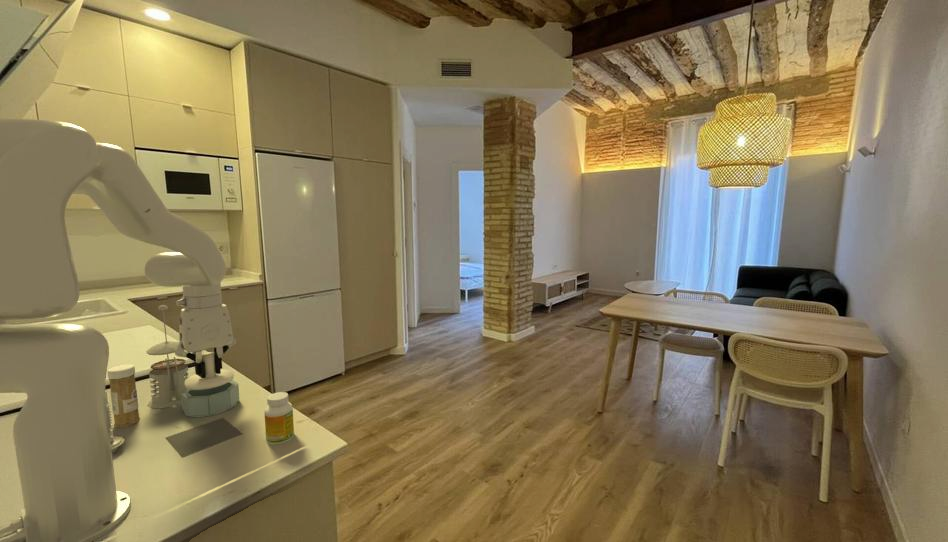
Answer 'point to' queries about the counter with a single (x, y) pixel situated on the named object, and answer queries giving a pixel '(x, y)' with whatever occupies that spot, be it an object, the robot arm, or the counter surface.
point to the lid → (209, 375)
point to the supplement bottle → (279, 419)
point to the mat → (202, 436)
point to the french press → (167, 374)
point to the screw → (115, 440)
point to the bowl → (210, 400)
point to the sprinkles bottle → (123, 395)
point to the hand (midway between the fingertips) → (209, 374)
